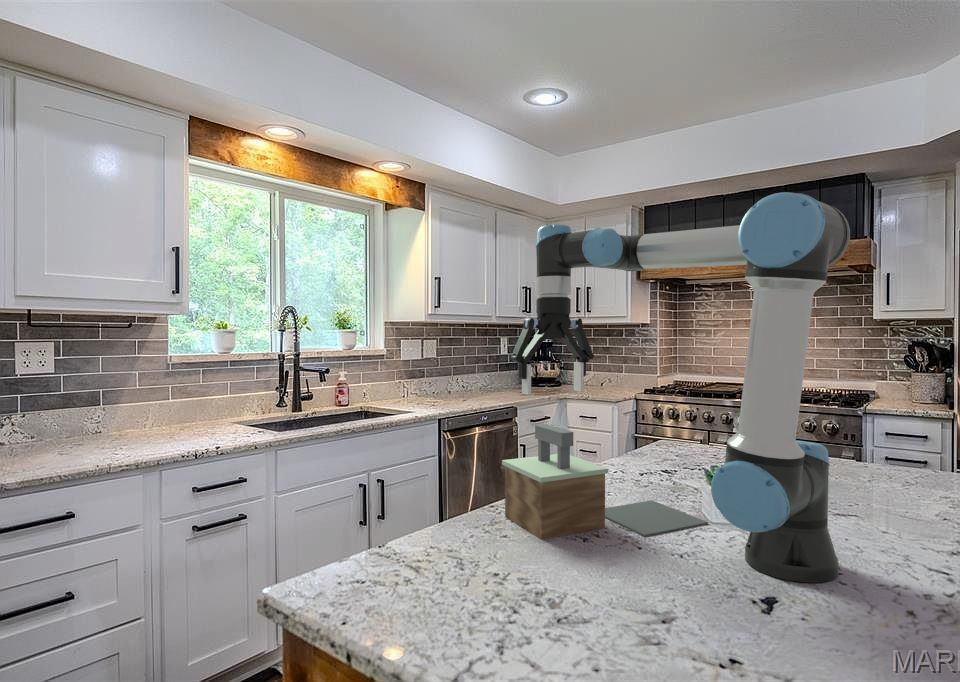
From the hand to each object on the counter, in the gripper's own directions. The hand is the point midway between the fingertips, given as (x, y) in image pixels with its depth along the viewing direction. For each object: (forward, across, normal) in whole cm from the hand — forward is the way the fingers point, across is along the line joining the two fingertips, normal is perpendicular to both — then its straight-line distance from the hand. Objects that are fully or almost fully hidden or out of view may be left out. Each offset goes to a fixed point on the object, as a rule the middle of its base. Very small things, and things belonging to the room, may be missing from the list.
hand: (553, 392), depth 132 cm
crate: (+29, 0, 0) cm, 29 cm away
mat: (+29, -21, +7) cm, 37 cm away
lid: (+17, 0, 0) cm, 17 cm away
